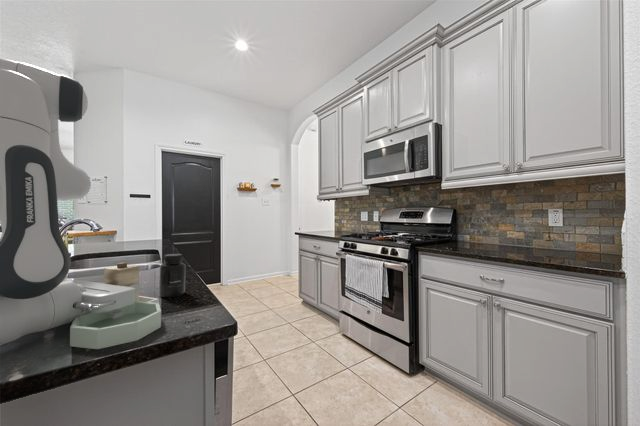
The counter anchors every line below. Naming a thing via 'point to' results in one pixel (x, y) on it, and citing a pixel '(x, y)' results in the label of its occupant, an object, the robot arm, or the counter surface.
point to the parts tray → (121, 313)
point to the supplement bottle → (172, 276)
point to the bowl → (115, 326)
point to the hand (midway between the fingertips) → (127, 285)
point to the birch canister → (122, 275)
